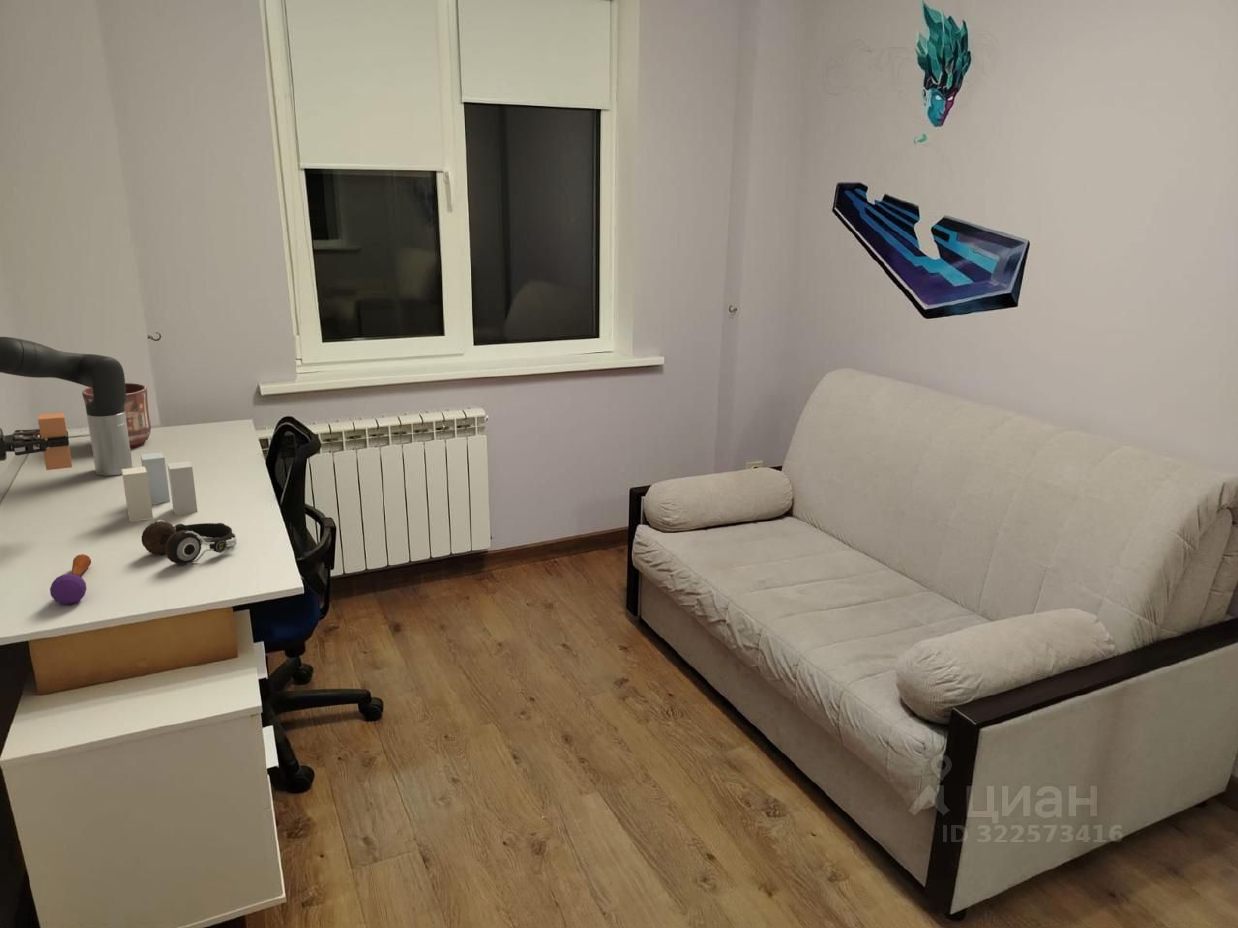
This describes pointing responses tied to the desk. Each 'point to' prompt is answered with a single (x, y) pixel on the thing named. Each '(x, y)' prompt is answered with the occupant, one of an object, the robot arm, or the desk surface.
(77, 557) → the purple maraca
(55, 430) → the rust block
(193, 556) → the headset
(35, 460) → the desk surface
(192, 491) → the grey block
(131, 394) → the pottery
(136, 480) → the cream block
